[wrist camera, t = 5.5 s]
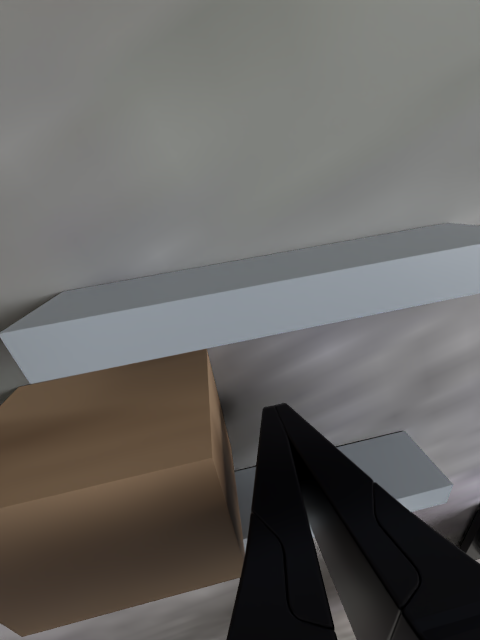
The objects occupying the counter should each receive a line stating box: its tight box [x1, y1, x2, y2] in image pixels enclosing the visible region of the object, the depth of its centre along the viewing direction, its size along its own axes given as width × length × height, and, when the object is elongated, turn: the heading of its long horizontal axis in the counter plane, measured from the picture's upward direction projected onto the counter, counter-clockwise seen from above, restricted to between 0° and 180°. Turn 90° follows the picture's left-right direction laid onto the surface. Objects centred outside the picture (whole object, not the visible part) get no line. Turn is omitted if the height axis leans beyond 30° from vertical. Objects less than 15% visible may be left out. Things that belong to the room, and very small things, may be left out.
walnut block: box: [0, 349, 245, 637], centre depth 7 cm, size 5×6×4 cm
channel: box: [0, 223, 480, 551], centre depth 8 cm, size 10×12×2 cm
